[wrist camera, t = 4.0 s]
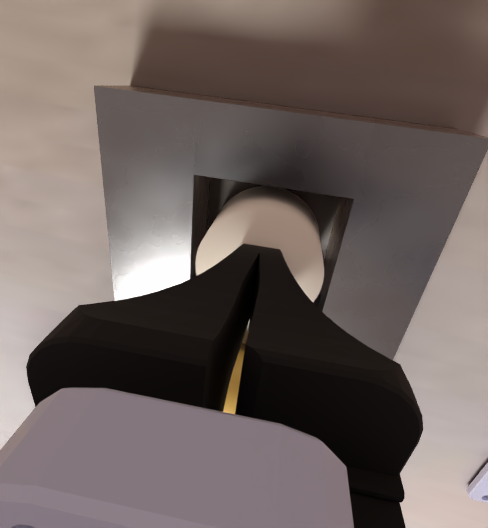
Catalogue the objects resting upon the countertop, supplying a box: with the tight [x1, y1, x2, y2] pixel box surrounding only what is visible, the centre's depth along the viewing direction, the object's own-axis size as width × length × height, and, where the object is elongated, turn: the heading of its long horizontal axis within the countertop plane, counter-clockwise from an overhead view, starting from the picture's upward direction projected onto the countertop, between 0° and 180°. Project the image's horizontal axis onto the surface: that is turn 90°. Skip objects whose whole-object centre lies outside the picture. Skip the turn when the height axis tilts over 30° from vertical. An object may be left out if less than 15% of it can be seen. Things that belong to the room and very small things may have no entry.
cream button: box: [195, 186, 324, 320], centre depth 13 cm, size 4×4×3 cm
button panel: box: [94, 86, 488, 360], centre depth 17 cm, size 12×24×2 cm, turn 174°
